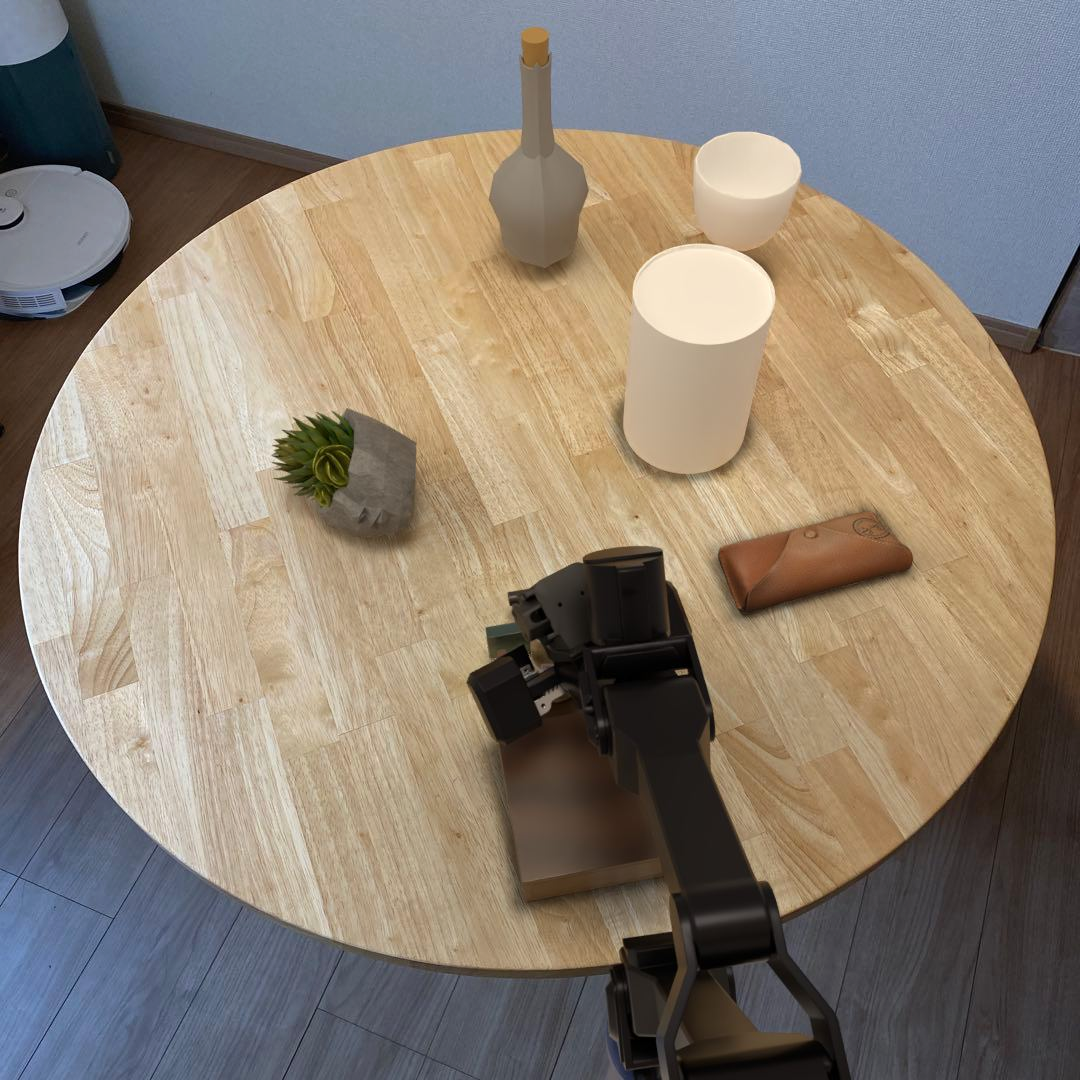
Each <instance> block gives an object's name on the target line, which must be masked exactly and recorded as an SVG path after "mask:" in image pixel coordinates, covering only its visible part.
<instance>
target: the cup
mask: <svg viewBox="0 0 1080 1080" xmlns="http://www.w3.org/2000/svg"><path fill="white" fill-rule="evenodd" d="M802 173H803V171H802V164H801V158H800V157H799V155H798V154H797V153H796V152H795V151H794V150H793V148H792V146H790V145H789V144H788V143H786V142H784V141H782V140H781V139H779V138H777V137H775V136H773V135H768V134H764V133H761V132H757V131H731V132H727V133H723V134H719V135H717V136H714V137H713V138H712V139H710V140H708V141H707V142H706V143H704V144H703V145H701V146H700V148H699V150H698V152H697V154H696V155H695V157H694V163H693V174H692V175H693V176H692V181H693V182H692V184H693V185H692V186H693V191H692V193H693V207H694V214H695V220H696V223H697V225H698V226H699V228H700V229H701V231H702V232H703V234H704V235H705V236H706V238H707V240H708V241H710V242H711V243H713V244H714V245H718V246H723V247H727V248H730V249H733V250H736V251H738V252H747V251H751V250H753V249H754V250H755V249H756V248H760V247H762V246H763V245H764V244H766V243H767V242H768V241H769V240H771V239H772V238H774V236H776V235H777V234H778V233H779V231H780V229H781V228H782V226H783V225H784V222H785V221H786V220H787V217H788V214H789V212H790V210H791V208H792V204H793V202H794V199H795V196H796V194H797V191H798V187H799V185H800V180H801V176H802Z"/></svg>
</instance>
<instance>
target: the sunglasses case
mask: <svg viewBox="0 0 1080 1080" xmlns="http://www.w3.org/2000/svg"><path fill="white" fill-rule="evenodd" d="M717 555H718V560H719V563H720V566H721V568H722V572H723V574H724V577H725V579H726V582H727V584H728V587H729V590H730V593H731V595H732V598H733V600H734V604H735V605H736V608H737V610H738V611H739V612H740V613H741V614H743V615H744V614H745V615H746V614H753V613H757V612H760V611H763V610H768V609H770V608H774V607H777V606H780V605H784V604H787V603H790V602H794V601H795V602H796V601H798V600H801V599H802V600H803V599H805V598H808V597H811V596H816V595H818V594H819V595H820V594H823V593H827V592H830V591H834V590H836V589H837V590H838V589H841V588H844V587H849V586H852V585H856V584H859V583H863V582H867V581H871V580H875V579H879V578H882V577H883V578H884V577H887V576H891V575H895V574H898V573H901V572H905V571H908V570H910V569H911V568H912V566H913V563H914V555H913V551H911V549H910V547H908V546H907V545H906V544H903V543H902V542H901V541H900V540H898V539H897V538H896V537H895V536H894V535H893V534H892V533H891V532H890V531H889V530H888V529H887V528H885V526H884V525H882V524H881V522H880V521H879V519H878V518H877V515H875V513H874V512H872V511H860V512H856V513H855V512H854V513H851V514H847V515H844V516H839V517H836V518H832V519H829V520H824V521H821V522H817V523H813V524H809V525H805V526H801V527H797V528H793V529H788V530H784V531H782V532H781V531H780V532H777V533H773V534H767V535H764V536H760V537H755V538H751V539H746V540H741V541H736V542H733V543H730V544H726V545H723V546H721V547H719V548H718V553H717Z"/></svg>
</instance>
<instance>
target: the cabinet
mask: <svg viewBox="0 0 1080 1080" xmlns="http://www.w3.org/2000/svg"><path fill="white" fill-rule="evenodd" d="M542 725H543V726H541V727H539V728H538V729H536V730H534V731H532V732H530V733H529V734H527V735H525V736H523V737H521V738H520V739H518V740H516V741H514V742H512V743H511V744H509V745H507V746H505V745H503V744H500V743H497V747H498V753H499V754H498V755H499V758H500V759H499V760H500V767H501V771H502V772H501V773H502V777H503V778H502V779H503V785H504V789H505V796H506V801H507V807H508V814H509V819H510V825H511V831H512V837H513V843H514V848H515V849H514V850H515V855H516V861H517V867H518V868H517V869H518V874H519V879H520V887H521V891H522V897H523V902H524V903H529V902H533V901H538V900H543V899H549V898H555V897H559V896H564V895H570V894H576V893H580V892H581V893H582V892H586V891H591V890H596V889H602V888H607V887H611V886H616V885H622V884H627V883H632V882H638V881H643V880H648V879H654V878H659V877H664V873H663V870H662V867H661V863H660V860H659V857H658V853H657V850H656V847H655V843H654V840H653V837H652V834H651V830H650V827H649V824H648V820H647V817H646V814H645V810H644V807H643V804H642V801H641V799H640V797H638V796H637V795H635V794H633V793H631V792H629V791H627V790H625V789H623V788H621V787H619V786H618V785H617V784H616V781H615V778H614V775H613V772H612V769H611V766H610V763H609V759H608V755H607V756H601V757H600V756H599V754H598V750H597V747H595V746H594V744H593V743H591V742H590V741H589V740H588V737H587V732H586V725H585V719H584V713H583V712H581V713H575V714H569V715H564V716H558V717H552V718H547V719H542Z"/></svg>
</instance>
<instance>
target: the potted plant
mask: <svg viewBox="0 0 1080 1080" xmlns="http://www.w3.org/2000/svg"><path fill="white" fill-rule="evenodd" d="M331 413H332V414H333V415H334V416H335V417H336V418H337V419H338V420H339V422H337V421H335V420H334V419H333V418H331V417H329V416H327V415H325V414H323V413H322V412H321V413H320V412H318V411H315V417H316V418H314V417H311V416H308V415H306V414H304V415H303V417H305V419H307V421H309V422H310V423H311V425H313V426H311V425H310V424H306V423H305V422H303V421H302V420H300V419H298V418H296V417H295V416H291V418H292V419H293V420H294V422H295V424H296V425H297V428H299V430H292V429H290V430H288V429H281V431H282V432H283V433H285V434H286V437H281V438H274V439H273V441H275V442H276V443H278V444H272V445H271V447H274V448H276V449H273V451H274V453H272V454H271V455H270V456H271V457H273V458H275V459H276V460H278V461H280V462H276V461H270V463H271V464H274V465H276V466H277V467H279V468H274V469H273V470H274V471H279V472H285V473H288V475H285V476H280V477H273V478H272V479H273V480H277V481H281V482H282V483H283V484H287V485H288V484H289V485H294V486H291V487H290V488H291V489H298V488H299V490H298V491H296V492H295V493H294V494H293V495H292V496H298V497H302V496H306V499H308V498H310V497H312V498H310V499H309V501H314V502H315V505H316V508H317V512H318V516H319V517H320V518H321V519H322V521H324V522H325V523H326V525H328V526H331V527H333V528H335V529H337V530H339V531H341V532H343V533H346V534H348V535H351V536H352V537H362V538H378V537H382V536H386V535H389V534H394V533H398V532H400V531H402V530H404V529H406V528H408V527H409V525H410V522H411V519H412V515H413V510H414V509H413V508H414V502H415V492H416V491H415V490H416V478H417V477H416V473H417V471H416V470H417V442H416V441H415V440H413V439H412V438H409V437H408V436H406V435H404V434H403V433H402V432H400V431H398V430H396V429H394V428H393V427H391V426H389V425H388V424H385V423H383V422H382V421H380V420H378V419H376V418H374V417H372V416H369V415H367V414H364V413H361V412H359V411H356V410H353V409H351V408H348V407H345V410H344V412H343V414H342V415H340V414H338V413H337V412H335V411H334V410H331ZM300 488H301V489H300Z"/></svg>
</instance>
